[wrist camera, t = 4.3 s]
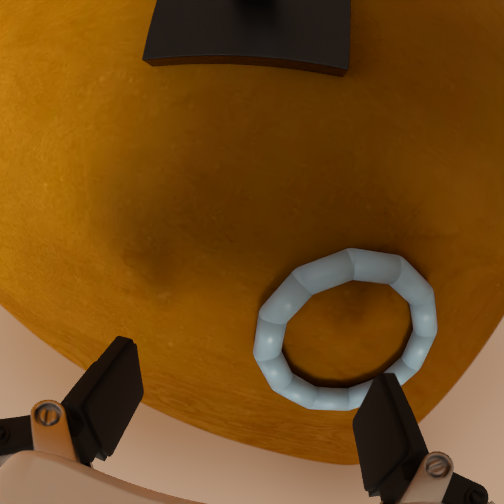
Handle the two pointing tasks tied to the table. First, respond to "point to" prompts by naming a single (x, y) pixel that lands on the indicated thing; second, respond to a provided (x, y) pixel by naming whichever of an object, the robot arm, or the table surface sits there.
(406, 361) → the ring
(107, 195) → the table surface
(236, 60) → the post
